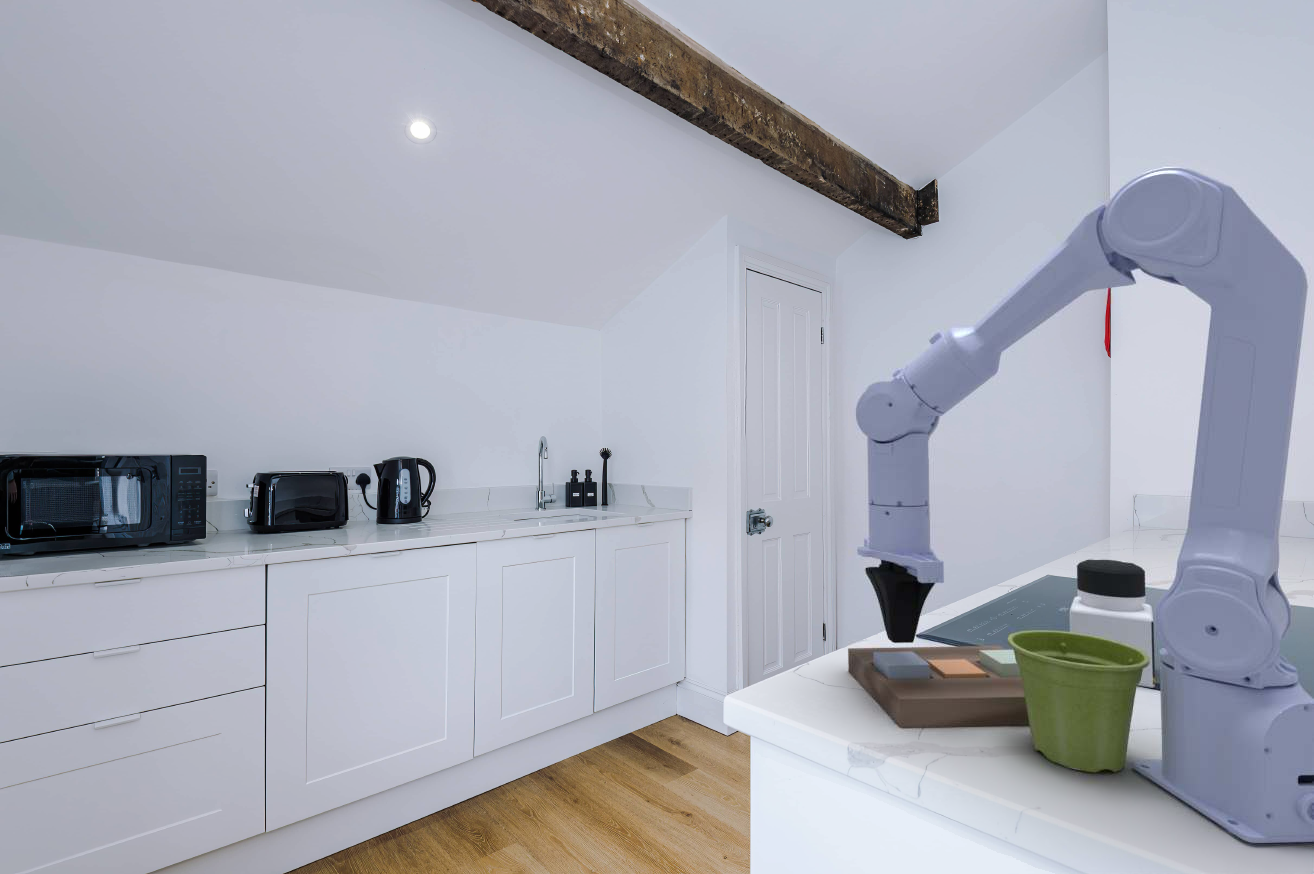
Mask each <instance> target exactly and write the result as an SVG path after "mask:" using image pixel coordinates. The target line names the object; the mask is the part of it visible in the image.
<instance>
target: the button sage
mask: <svg viewBox="0 0 1314 874" xmlns="http://www.w3.org/2000/svg"><path fill="white" fill-rule="evenodd" d="M979 655H980V664H981V665H982V666H984V667H985V668H987V669H988V670H990V671H992V672H993V673H995V674H996V675H998V676H999V677H1021V673H1020V668H1019V665H1018V664H1017V662H1016V660H1015V654H1014V650H1013V649H1007V650H979Z"/></svg>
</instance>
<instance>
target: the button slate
mask: <svg viewBox="0 0 1314 874" xmlns="http://www.w3.org/2000/svg"><path fill="white" fill-rule="evenodd" d="M874 667H875V668H876V669H877V670H878V671H879V672H880V673H881V674H882V675H883V676H884V677H885V678H886V679H930V665H929V664H928V663H927V662H925V661H924V660H923V659H921V658H920V657H919V656H918V655H916V654H915V653H914V652H912V651H905V652H874Z"/></svg>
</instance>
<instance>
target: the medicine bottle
mask: <svg viewBox="0 0 1314 874" xmlns="http://www.w3.org/2000/svg"><path fill="white" fill-rule="evenodd" d="M1145 571H1146V570H1145V569H1144V568H1142V567H1141V566H1140V565H1137V564H1135V563H1134V562H1129V561H1123V560H1119V559H1118V560H1117V559H1107V558H1106V559H1104V558H1103V559H1102V558H1094V559H1093V558H1091V559H1085V560H1082V561H1080V562H1079V563H1078V564H1077V565H1076V578H1077V579H1076V583H1077V584H1076V585H1077V586H1076V587H1077V596H1075V597H1074V598H1073V601H1072V603H1071V606H1070V608H1069V632H1072V633H1079V634H1085V635H1091V636H1096V637H1101V638H1105V639H1109V640H1113V641H1117V642H1121V643H1124V644H1127V645H1130V646H1132V647H1135V648H1137V649H1139V650H1141V651H1143V652H1145V653H1146V654H1147V655H1148V656H1149V658H1150V663H1149V665H1148V666H1147V667H1146V668H1143V671H1142V676H1141V681H1140V683H1139V684H1137V686H1139V687H1146V688H1150V689H1151V688H1152V689H1153V688H1155V686H1156V670H1155V668H1156V667H1155V666H1156V665H1155V664H1156V663H1155V632H1154V630H1155V627H1154V620H1153V617H1154V613H1153V608H1152V605H1150V604H1148V603H1146V572H1145Z"/></svg>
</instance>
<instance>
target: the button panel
mask: <svg viewBox="0 0 1314 874" xmlns="http://www.w3.org/2000/svg"><path fill="white" fill-rule="evenodd" d="M979 650H1008V649H1006V648H1005V647H1002V646H1001V645H975V646H973V645H972V646H971V645H970V646H969V645H968V646H914V647H913V646H912V647H911V646H910V647H907V646H905V647H859V648H858V647H853V648H852V647H851V648H850V647H849V648H847V653H848V654H847V659H848V660H847V661H848V663H847V665H848V667H847V668H848V672H849V673H850V675H852V677H853V678H854V679H855V680H856V681H857V682H858V683H859V684H860V685H861V687H863V689H865V691H866V692H867V693H868V694H869V695H870V696H871V697H872V699H874V701H875V702H876V703H877V704H878V705H879V706H880V707H881V708H882V709H883V711H884V712H886V714H887V715H888V716H889V717H890V718H891V719H892V720H893V721H894V722H895V723H896V725H897V726H898V727H899V728H902V729H903V728H908V729H909V728H944V727H945V728H949V727H951V728H952V727H953V728H954V727H955V728H957V727H961V728H962V727H1000V726H1001V727H1003V726H1004V727H1005V726H1006V727H1007V726H1030V725H1029V719H1028V713H1027V707H1026V701H1025V695H1024V689H1023V684H1022V678H1021V677H999V676H998V675H996V674H995V673H993V672H992V671H990V670H988V669H987V668H985V667H984V666H982V665H981V664H980V655H979ZM905 651H912V652H914V653H915V654H916V655H918V656H919V657H920V658H921V659H923V660H924V661H925V662H927V660H955V659H965V660H967V661H968V662H970V663H972V664H973V665H975V666H976V667H978V668H979V669H981V670H982V671H984V672H985V673H986V675H987V678H943V677H942V676H940V675H939V674H938V673H936V672H935V671H934V670H932V669H931V668H930V679H886V678H885V677H884V676H883V675H882V674H881V673H880V672H879V671H878V670H877V669H876V668H875V667H874V652H905Z"/></svg>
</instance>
